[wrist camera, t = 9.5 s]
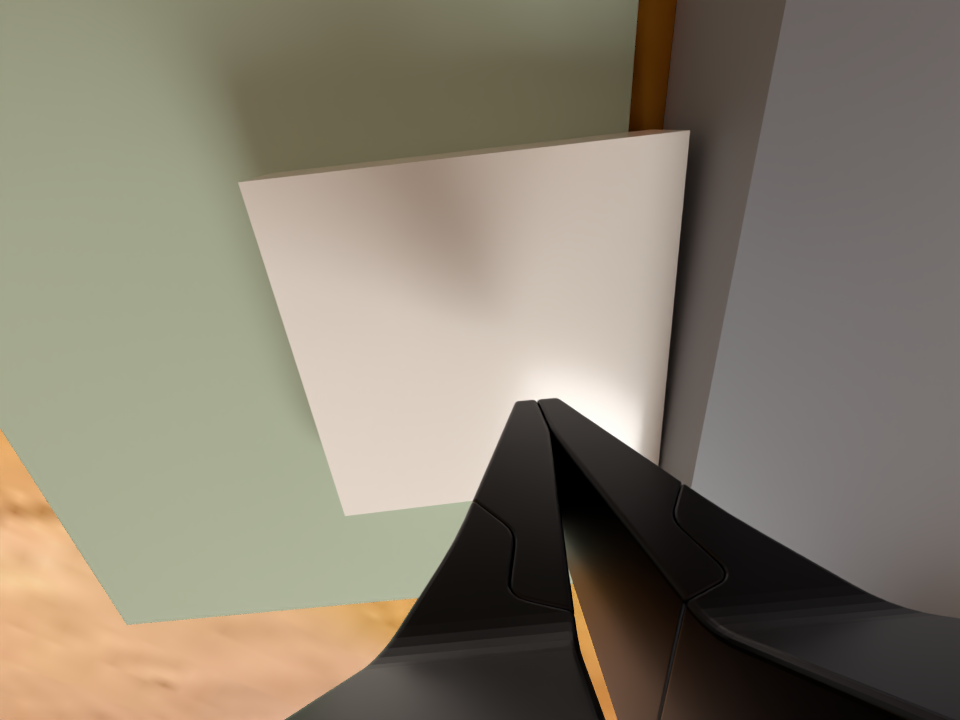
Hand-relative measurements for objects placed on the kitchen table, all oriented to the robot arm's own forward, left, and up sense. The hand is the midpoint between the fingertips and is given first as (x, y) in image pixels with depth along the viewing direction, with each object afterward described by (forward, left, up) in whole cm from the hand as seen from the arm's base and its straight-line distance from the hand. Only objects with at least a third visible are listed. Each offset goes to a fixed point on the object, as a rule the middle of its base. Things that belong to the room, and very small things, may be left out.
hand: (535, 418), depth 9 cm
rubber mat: (0, +6, -5) cm, 8 cm away
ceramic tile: (0, +1, -4) cm, 4 cm away
